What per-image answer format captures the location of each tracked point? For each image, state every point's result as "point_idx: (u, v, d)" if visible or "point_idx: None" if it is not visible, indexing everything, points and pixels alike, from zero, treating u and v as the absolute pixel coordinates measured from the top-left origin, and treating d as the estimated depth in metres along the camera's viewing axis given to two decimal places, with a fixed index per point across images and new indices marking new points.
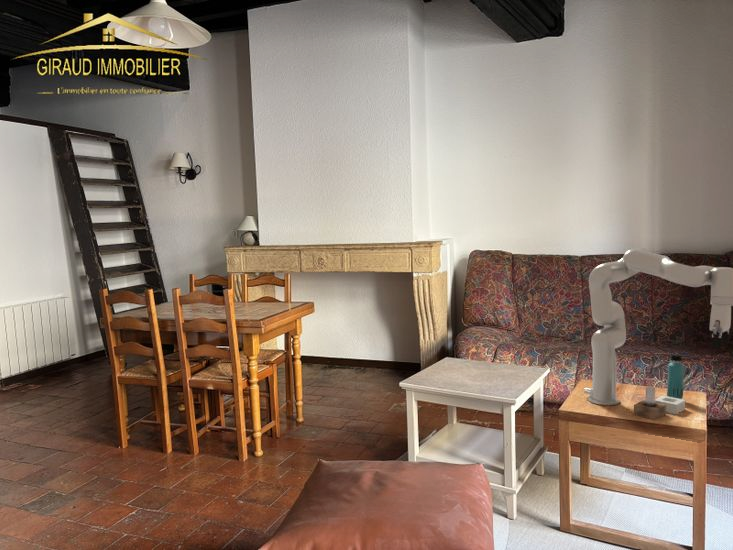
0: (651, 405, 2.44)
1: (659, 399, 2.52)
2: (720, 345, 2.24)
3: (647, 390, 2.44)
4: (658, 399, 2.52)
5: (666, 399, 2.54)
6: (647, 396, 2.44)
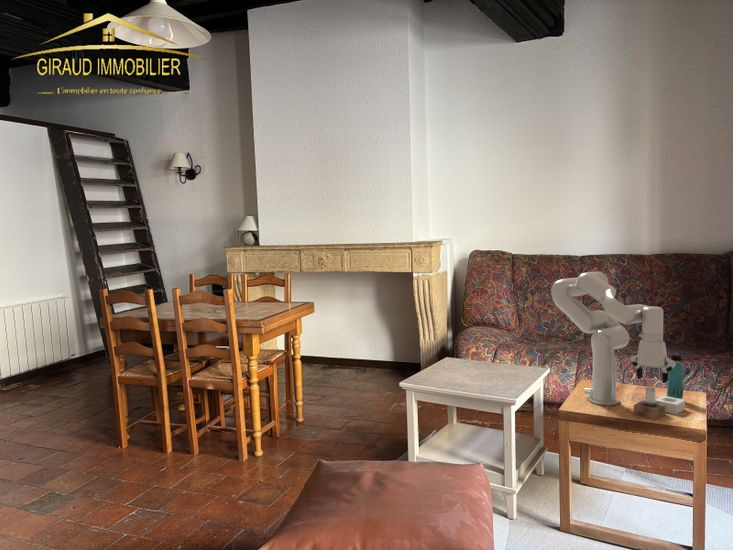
0: (651, 405, 2.44)
1: (659, 399, 2.52)
2: None
3: (647, 390, 2.44)
4: (658, 399, 2.52)
5: (666, 399, 2.54)
6: (647, 396, 2.44)
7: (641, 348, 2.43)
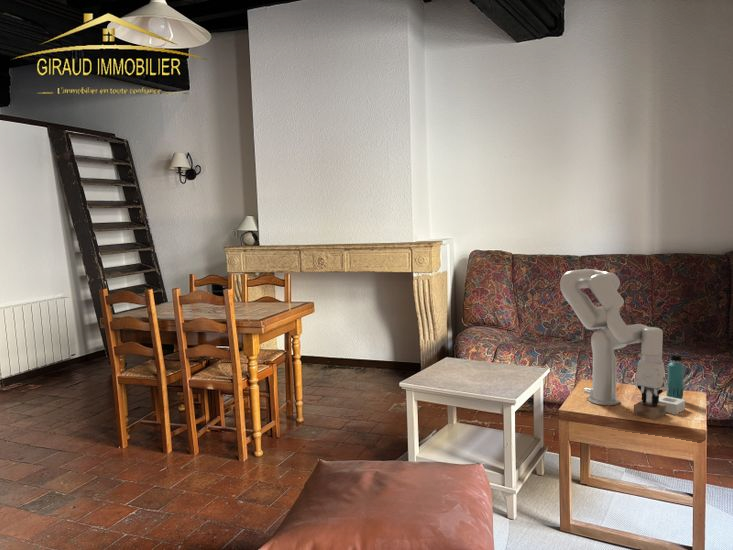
0: (651, 405, 2.44)
1: (659, 399, 2.52)
2: None
3: (647, 390, 2.44)
4: None
5: (666, 399, 2.54)
6: (647, 396, 2.44)
7: (639, 368, 2.44)
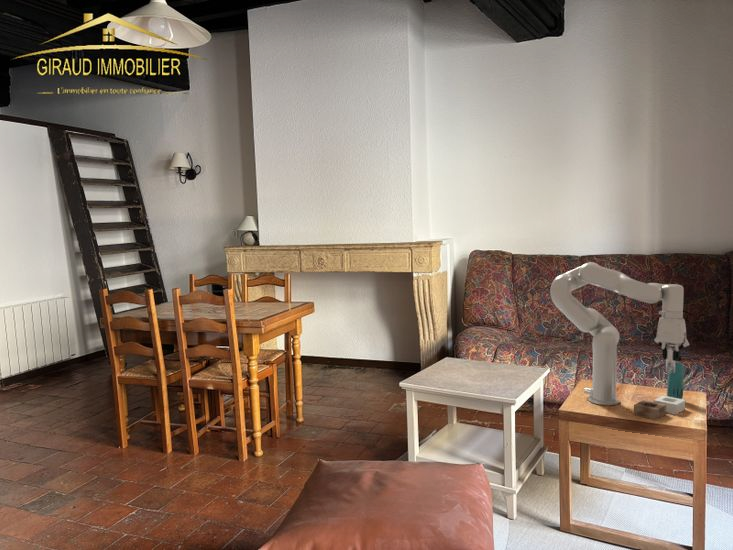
0: (672, 362, 2.48)
1: (659, 399, 2.52)
2: None
3: (668, 348, 2.48)
4: (658, 399, 2.52)
5: (666, 399, 2.54)
6: (668, 354, 2.48)
7: (661, 324, 2.49)
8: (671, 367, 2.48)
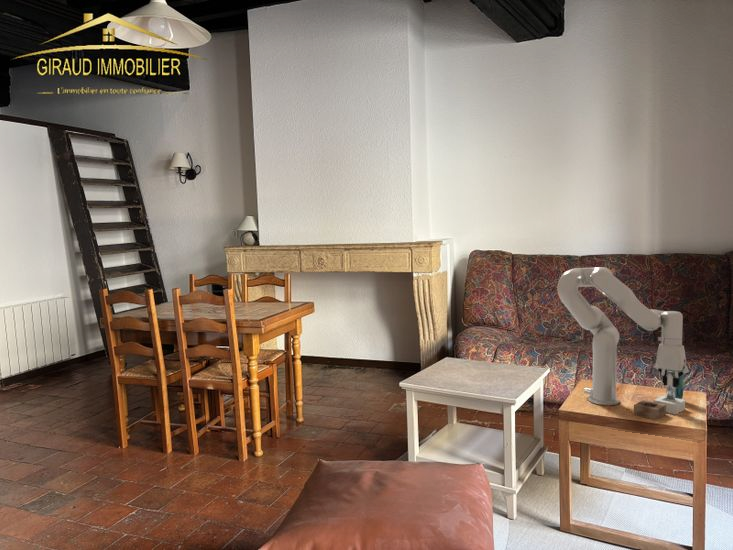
0: (672, 389, 2.49)
1: (659, 399, 2.52)
2: None
3: (668, 374, 2.49)
4: (658, 399, 2.52)
5: (666, 399, 2.54)
6: (668, 380, 2.49)
7: (660, 351, 2.50)
8: (671, 393, 2.49)
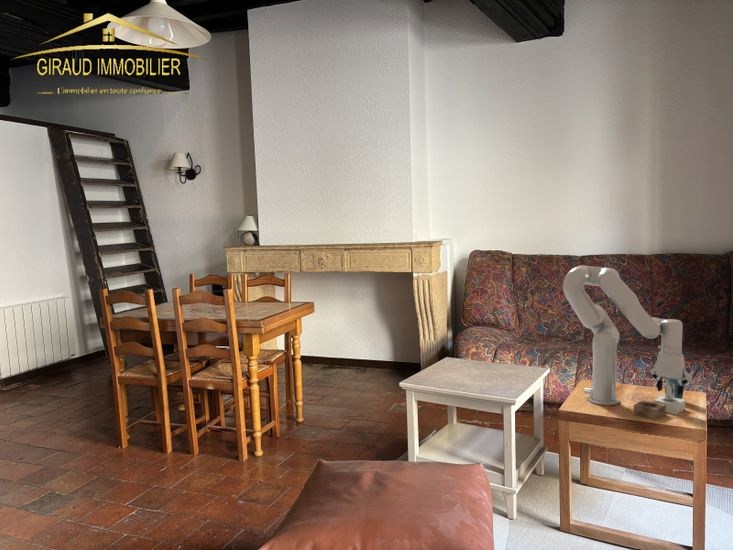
0: (671, 400, 2.49)
1: (659, 399, 2.52)
2: None
3: (667, 385, 2.50)
4: (658, 399, 2.52)
5: None
6: (667, 391, 2.50)
7: (659, 359, 2.50)
8: None
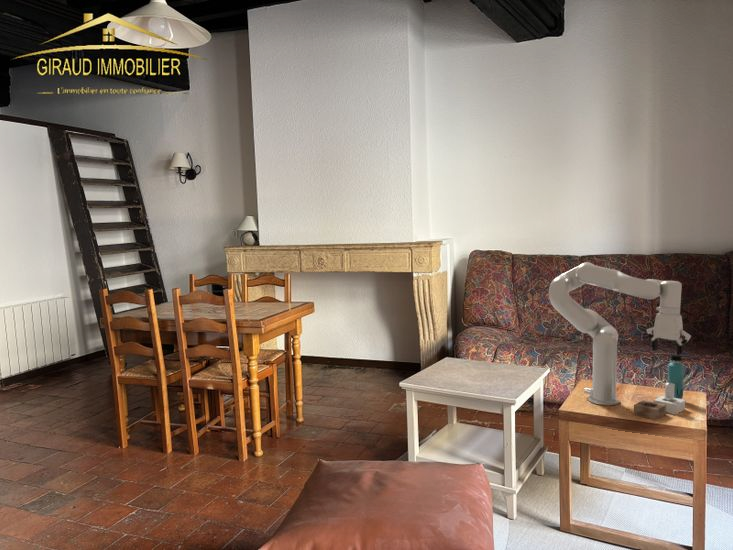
0: (671, 400, 2.49)
1: (659, 399, 2.52)
2: None
3: (667, 385, 2.50)
4: (658, 399, 2.52)
5: None
6: (667, 391, 2.50)
7: (657, 320, 2.51)
8: None
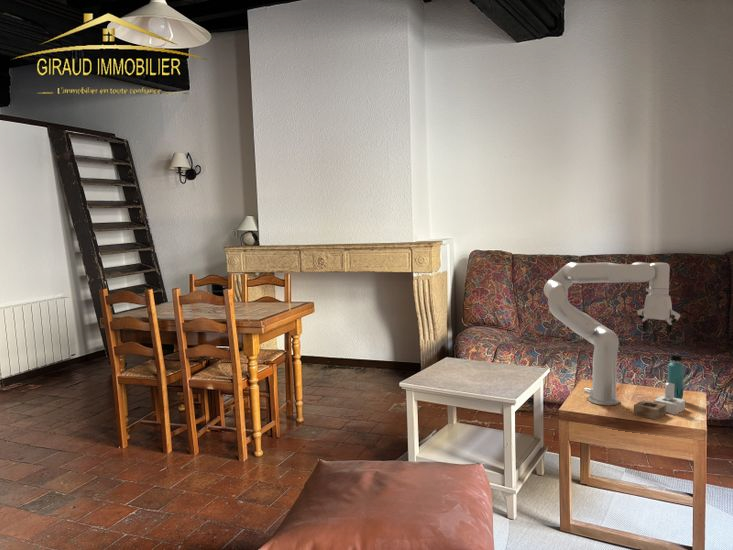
0: (671, 400, 2.49)
1: (659, 399, 2.52)
2: None
3: (667, 385, 2.50)
4: (658, 399, 2.52)
5: None
6: (667, 391, 2.50)
7: (647, 301, 2.58)
8: None
